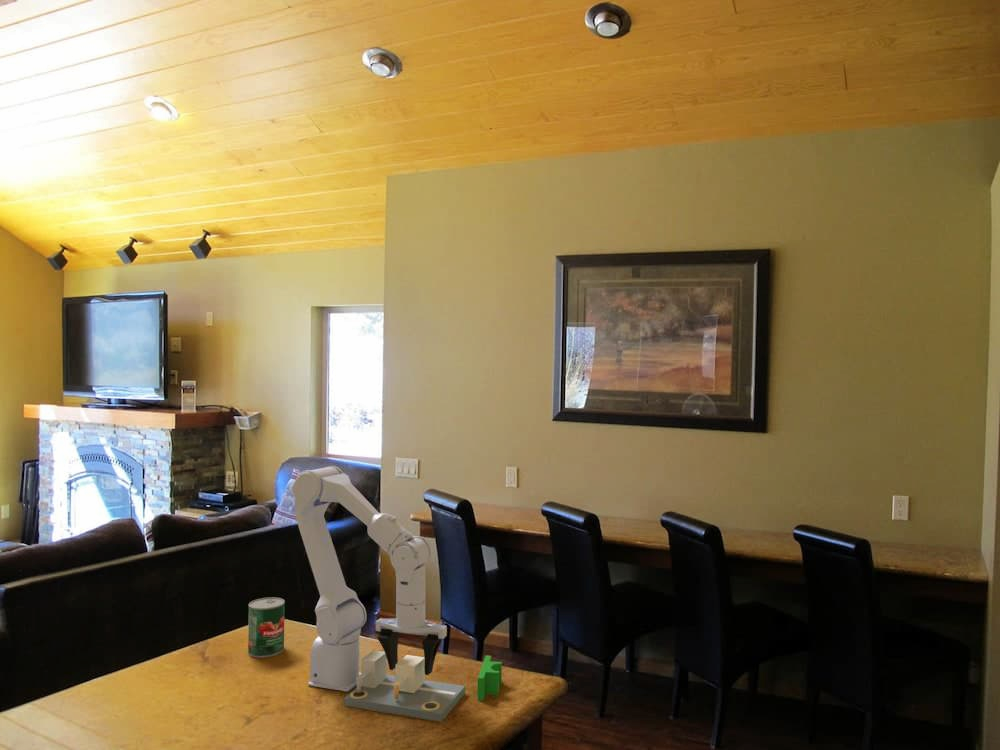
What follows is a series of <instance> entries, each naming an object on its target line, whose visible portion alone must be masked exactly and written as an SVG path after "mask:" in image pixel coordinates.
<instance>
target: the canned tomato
mask: <svg viewBox="0 0 1000 750" xmlns="http://www.w3.org/2000/svg"><path fill="white" fill-rule="evenodd" d="M285 603H286V601H285V599H283V598H281V597H274V596H273V597H262V598H257V599H254V600H252V601H250V602H249V603H248V630H247V631H248V634H247V636H248V640H247V642H248V644H247V648H248V649H247V654H248V656H250V657H252V658H264V659H265V658H269V657H274V656H277V655H279V653H280V654H281V653H282V652H284V650H285Z"/></svg>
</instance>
